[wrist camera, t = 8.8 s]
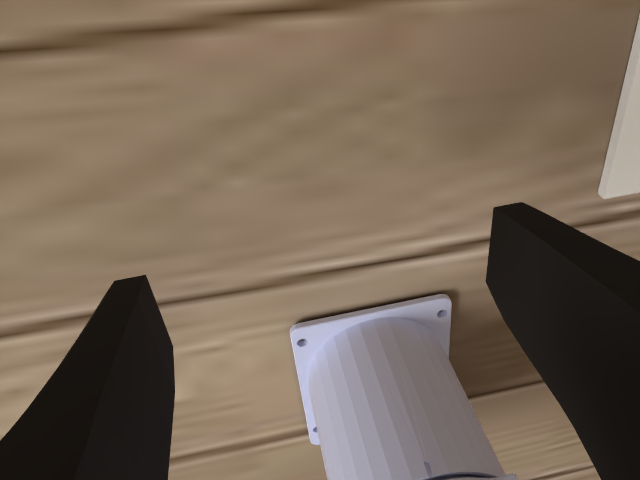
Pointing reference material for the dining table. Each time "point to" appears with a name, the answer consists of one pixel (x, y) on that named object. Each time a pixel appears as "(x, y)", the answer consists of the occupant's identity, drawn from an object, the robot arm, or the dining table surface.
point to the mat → (625, 134)
